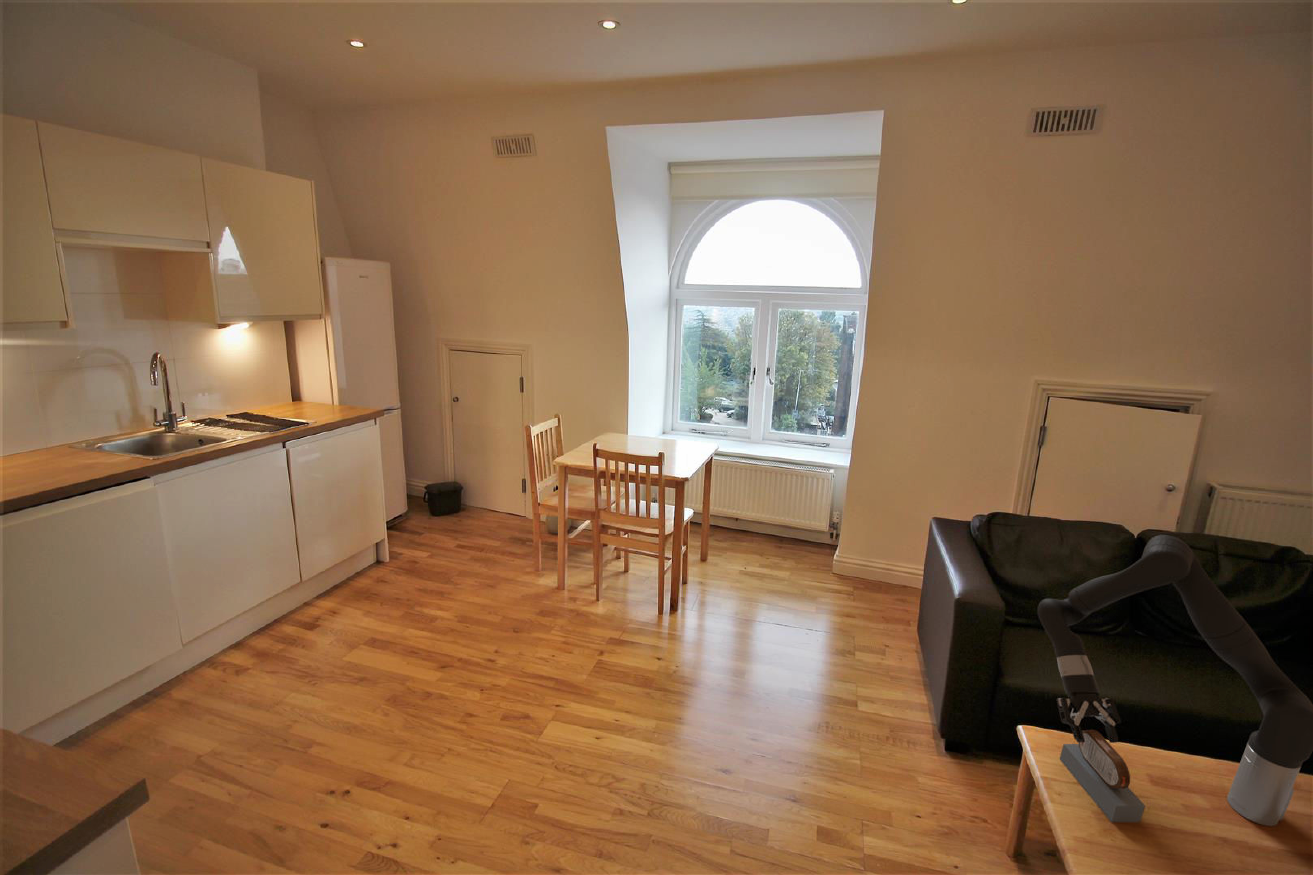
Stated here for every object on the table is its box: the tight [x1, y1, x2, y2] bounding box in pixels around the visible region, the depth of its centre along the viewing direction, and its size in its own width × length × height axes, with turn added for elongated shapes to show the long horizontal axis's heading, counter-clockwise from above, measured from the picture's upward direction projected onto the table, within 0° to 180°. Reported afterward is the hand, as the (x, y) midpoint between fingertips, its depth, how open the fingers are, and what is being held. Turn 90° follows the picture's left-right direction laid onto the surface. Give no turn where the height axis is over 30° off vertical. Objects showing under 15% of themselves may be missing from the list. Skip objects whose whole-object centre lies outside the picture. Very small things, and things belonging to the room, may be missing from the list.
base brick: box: [1059, 743, 1146, 823], centre depth 154 cm, size 7×19×5 cm, turn 1°
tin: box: [1077, 729, 1131, 789], centre depth 152 cm, size 15×3×8 cm, turn 0°
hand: (1097, 742), depth 155 cm, fingers open, 8 cm apart
